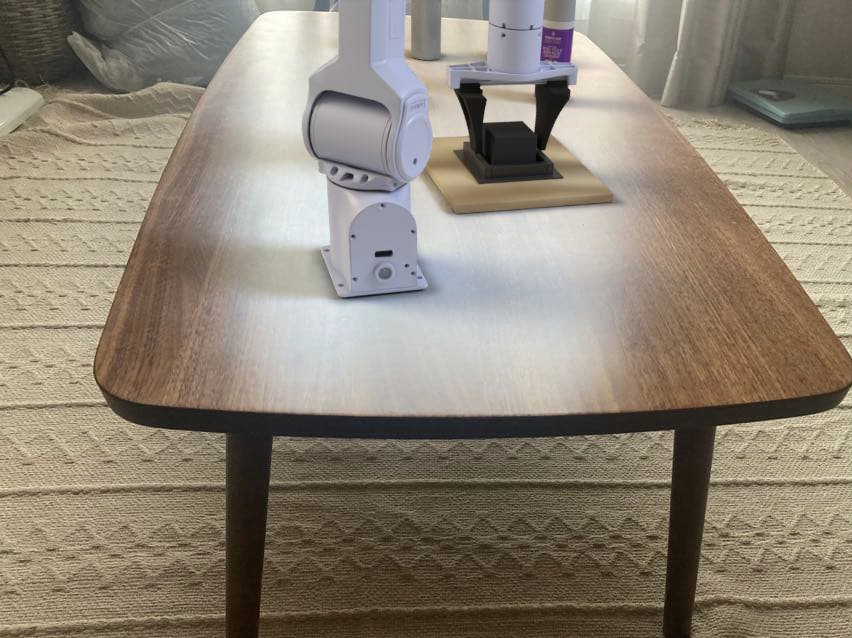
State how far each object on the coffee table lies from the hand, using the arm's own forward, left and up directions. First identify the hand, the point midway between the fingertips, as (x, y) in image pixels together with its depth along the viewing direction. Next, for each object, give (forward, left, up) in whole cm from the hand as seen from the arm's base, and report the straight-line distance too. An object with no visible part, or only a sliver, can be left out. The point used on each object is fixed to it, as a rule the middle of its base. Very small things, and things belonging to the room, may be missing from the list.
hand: (508, 149), depth 106 cm
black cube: (0, 0, -2) cm, 2 cm away
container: (+25, -15, -3) cm, 29 cm away
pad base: (0, 0, -3) cm, 3 cm away
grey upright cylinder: (+48, -3, -3) cm, 48 cm away
